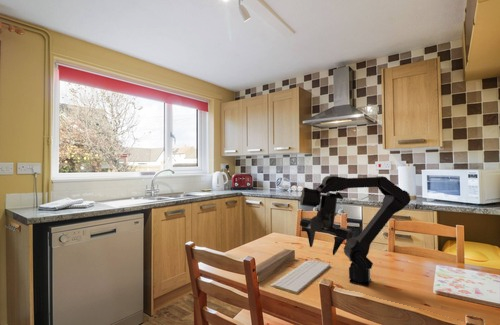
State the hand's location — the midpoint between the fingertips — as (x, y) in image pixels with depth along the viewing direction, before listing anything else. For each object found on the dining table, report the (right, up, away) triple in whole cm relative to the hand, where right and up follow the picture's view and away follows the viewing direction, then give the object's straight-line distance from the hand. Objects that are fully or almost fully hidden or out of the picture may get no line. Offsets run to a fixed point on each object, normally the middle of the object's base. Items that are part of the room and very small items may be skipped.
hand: (321, 250), depth 96 cm
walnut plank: (-17, -12, +13) cm, 25 cm away
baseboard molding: (-7, -13, +6) cm, 15 cm away
